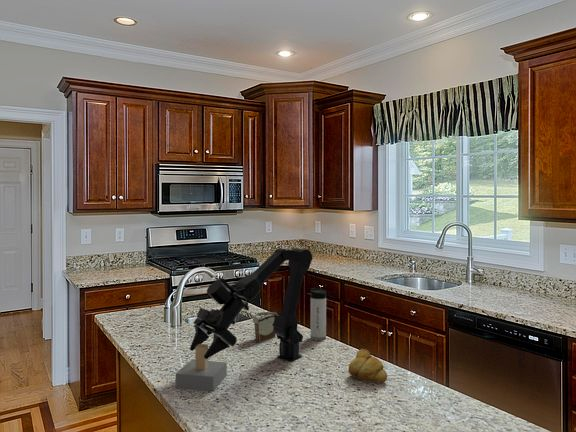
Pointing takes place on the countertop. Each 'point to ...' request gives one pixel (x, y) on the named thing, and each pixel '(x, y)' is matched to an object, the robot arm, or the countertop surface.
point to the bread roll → (367, 368)
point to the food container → (264, 326)
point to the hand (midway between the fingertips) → (197, 354)
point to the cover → (201, 372)
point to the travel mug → (318, 314)
